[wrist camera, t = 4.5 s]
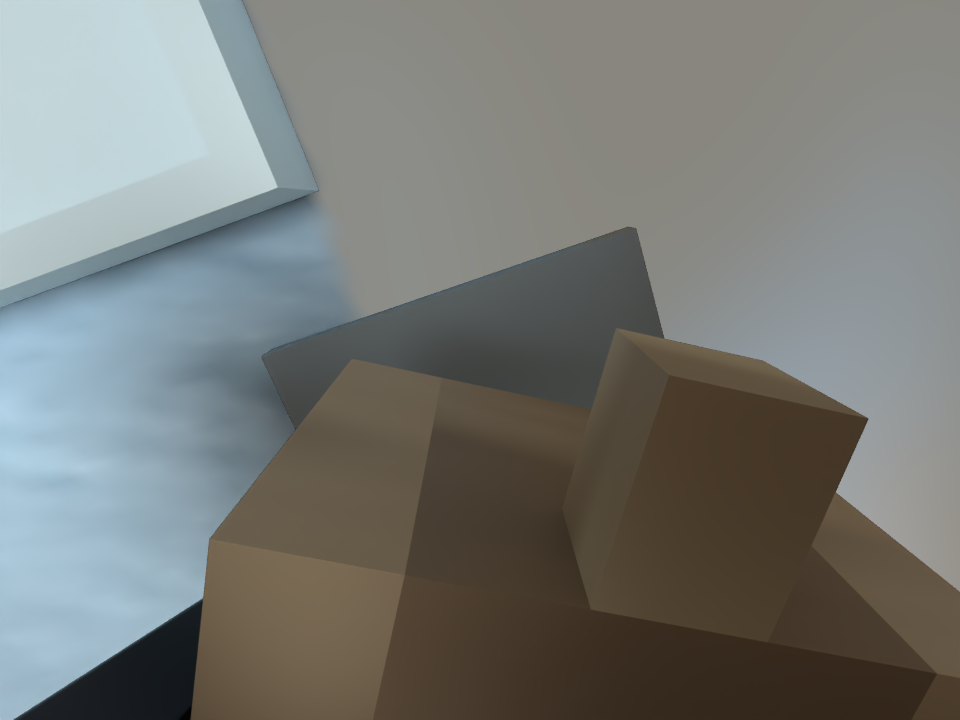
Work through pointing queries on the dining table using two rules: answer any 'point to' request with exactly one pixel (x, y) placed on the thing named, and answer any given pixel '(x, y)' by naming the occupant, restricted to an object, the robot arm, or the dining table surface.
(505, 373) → the post base
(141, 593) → the dining table surface
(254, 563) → the open wooden frame
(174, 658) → the robot arm
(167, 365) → the dining table surface
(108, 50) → the tray
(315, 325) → the dining table surface
